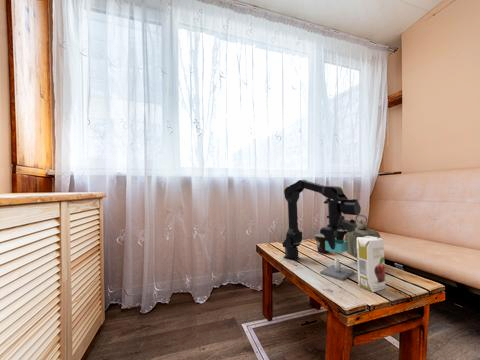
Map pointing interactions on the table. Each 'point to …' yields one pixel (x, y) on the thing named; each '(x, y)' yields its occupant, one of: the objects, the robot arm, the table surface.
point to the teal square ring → (337, 246)
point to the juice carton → (371, 263)
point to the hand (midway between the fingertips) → (336, 247)
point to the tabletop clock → (359, 232)
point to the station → (337, 271)
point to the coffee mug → (321, 244)
